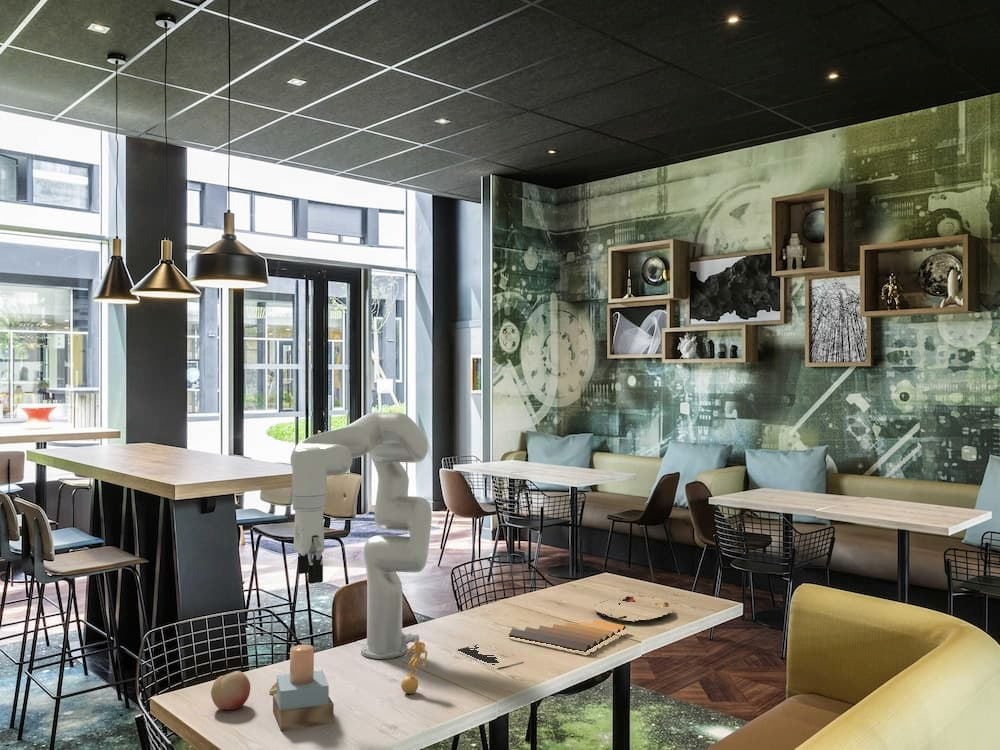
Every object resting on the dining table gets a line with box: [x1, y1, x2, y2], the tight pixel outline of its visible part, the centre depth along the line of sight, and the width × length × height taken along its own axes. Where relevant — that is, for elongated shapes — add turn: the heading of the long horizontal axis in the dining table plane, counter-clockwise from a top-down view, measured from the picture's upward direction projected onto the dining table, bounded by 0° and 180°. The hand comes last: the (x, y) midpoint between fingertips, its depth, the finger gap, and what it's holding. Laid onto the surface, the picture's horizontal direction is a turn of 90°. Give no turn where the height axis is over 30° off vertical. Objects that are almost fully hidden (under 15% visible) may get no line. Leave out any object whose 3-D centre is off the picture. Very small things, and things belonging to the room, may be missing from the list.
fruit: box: [210, 670, 251, 711], centre depth 178 cm, size 8×8×8 cm
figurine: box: [400, 640, 428, 695], centre depth 187 cm, size 8×6×12 cm
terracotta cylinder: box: [289, 644, 315, 685], centre depth 173 cm, size 5×5×7 cm
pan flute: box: [508, 619, 627, 652], centre depth 230 cm, size 25×3×25 cm
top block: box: [276, 669, 330, 711], centre depth 173 cm, size 10×10×4 cm
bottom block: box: [272, 694, 335, 732], centre depth 173 cm, size 11×11×4 cm
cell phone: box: [457, 644, 499, 665], centre depth 213 cm, size 9×18×1 cm, turn 39°
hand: (310, 577), depth 180 cm, fingers open, 9 cm apart
